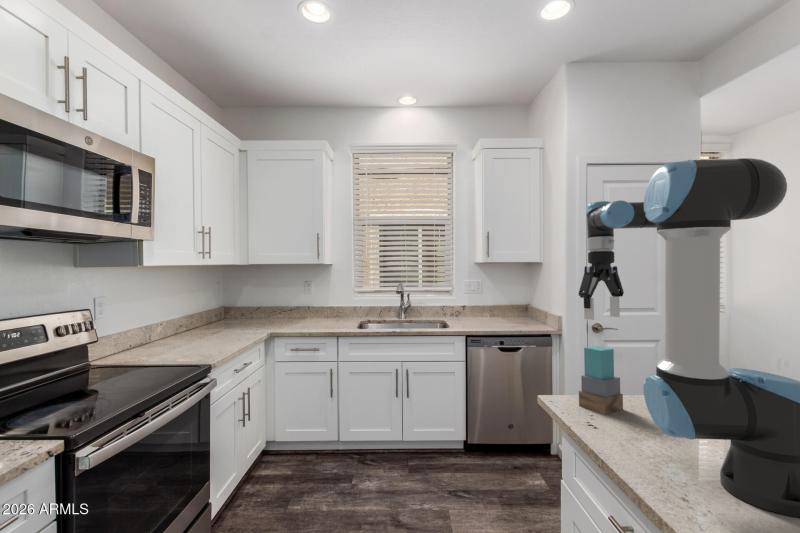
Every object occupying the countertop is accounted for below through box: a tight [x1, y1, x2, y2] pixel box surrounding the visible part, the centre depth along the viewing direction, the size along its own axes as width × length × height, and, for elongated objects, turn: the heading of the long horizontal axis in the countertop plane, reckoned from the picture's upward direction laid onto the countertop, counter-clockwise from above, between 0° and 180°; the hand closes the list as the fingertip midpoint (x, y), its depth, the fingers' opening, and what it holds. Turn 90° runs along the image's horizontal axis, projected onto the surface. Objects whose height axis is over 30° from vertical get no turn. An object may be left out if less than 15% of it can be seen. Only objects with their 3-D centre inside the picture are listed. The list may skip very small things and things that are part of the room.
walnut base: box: [578, 389, 624, 415], centre depth 125 cm, size 9×9×5 cm
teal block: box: [583, 345, 615, 380], centre depth 126 cm, size 6×6×9 cm
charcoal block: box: [580, 374, 621, 398], centre depth 125 cm, size 8×8×5 cm
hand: (602, 318), depth 124 cm, fingers open, 13 cm apart
